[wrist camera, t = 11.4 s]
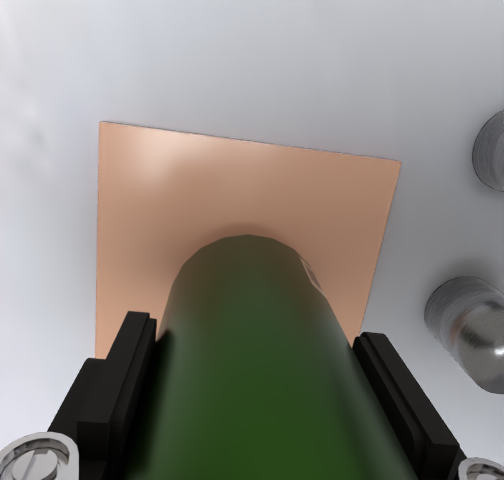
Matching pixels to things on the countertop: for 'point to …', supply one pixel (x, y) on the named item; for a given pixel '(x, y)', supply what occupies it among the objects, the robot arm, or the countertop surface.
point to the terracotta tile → (231, 215)
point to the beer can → (256, 379)
